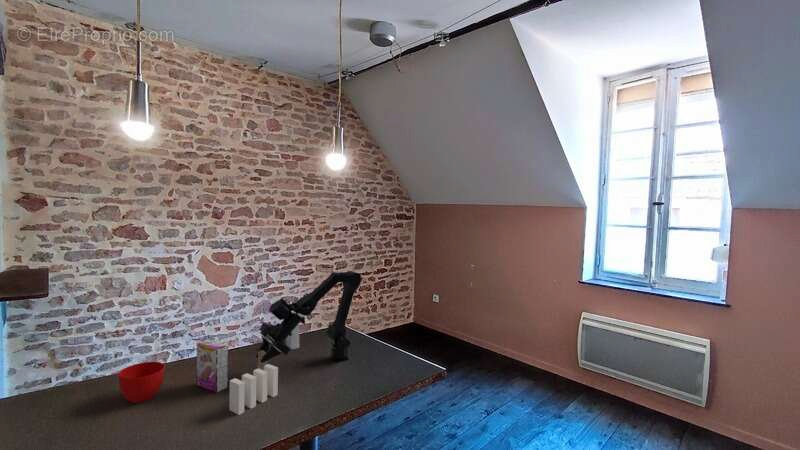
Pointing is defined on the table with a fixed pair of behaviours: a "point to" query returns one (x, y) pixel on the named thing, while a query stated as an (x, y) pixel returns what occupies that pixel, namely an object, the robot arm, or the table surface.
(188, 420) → the table surface
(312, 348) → the table surface
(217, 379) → the candy bar box
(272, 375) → the domino
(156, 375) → the red bowl
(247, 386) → the domino
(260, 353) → the domino
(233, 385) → the domino
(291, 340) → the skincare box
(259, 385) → the domino
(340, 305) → the robot arm
